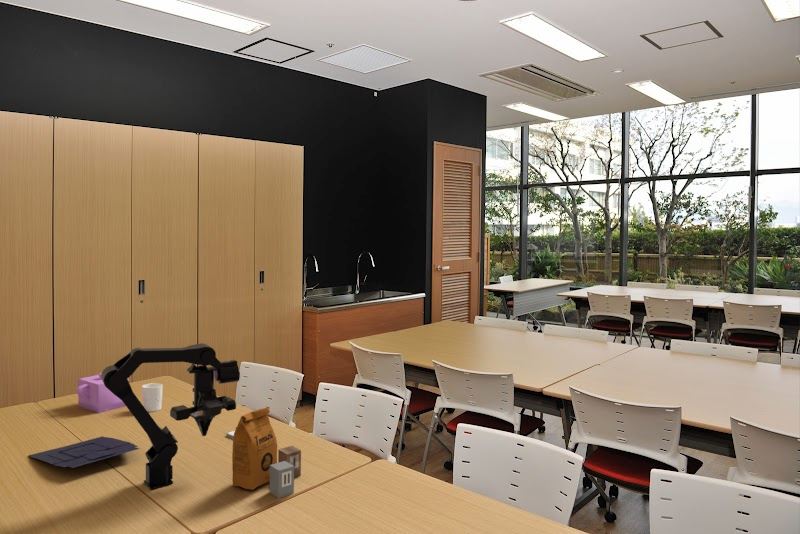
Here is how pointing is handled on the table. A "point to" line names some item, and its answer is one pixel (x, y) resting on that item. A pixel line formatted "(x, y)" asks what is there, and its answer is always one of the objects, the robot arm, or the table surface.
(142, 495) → the table surface
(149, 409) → the white cup
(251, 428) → the coffee package
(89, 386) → the teapot
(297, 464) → the walnut numbered block
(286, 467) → the grey numbered block
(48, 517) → the table surface
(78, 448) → the dark blue flat slab
